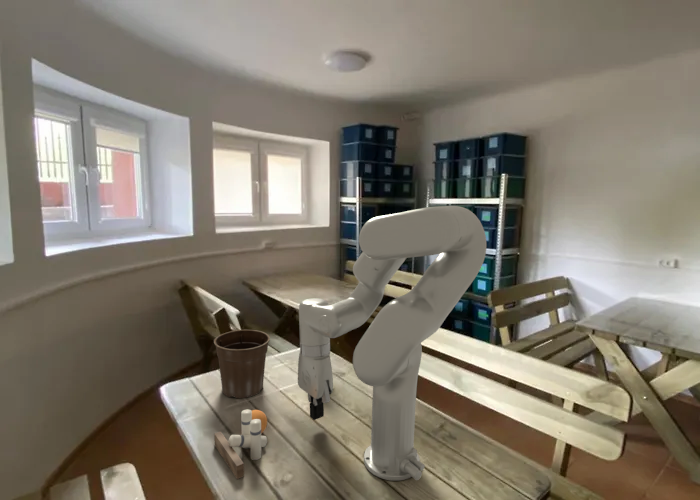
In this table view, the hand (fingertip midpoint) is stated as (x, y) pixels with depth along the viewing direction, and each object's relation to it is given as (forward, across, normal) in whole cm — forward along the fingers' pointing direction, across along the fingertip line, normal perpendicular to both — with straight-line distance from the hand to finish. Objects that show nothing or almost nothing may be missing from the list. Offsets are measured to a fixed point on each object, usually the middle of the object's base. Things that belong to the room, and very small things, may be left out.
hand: (316, 416), depth 102 cm
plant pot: (+2, -30, -7) cm, 31 cm away
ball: (0, -7, -14) cm, 16 cm away
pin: (+3, -4, -17) cm, 18 cm away
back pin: (+3, +1, -17) cm, 18 cm away
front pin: (+2, -1, -14) cm, 14 cm away
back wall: (+3, -1, -23) cm, 23 cm away
